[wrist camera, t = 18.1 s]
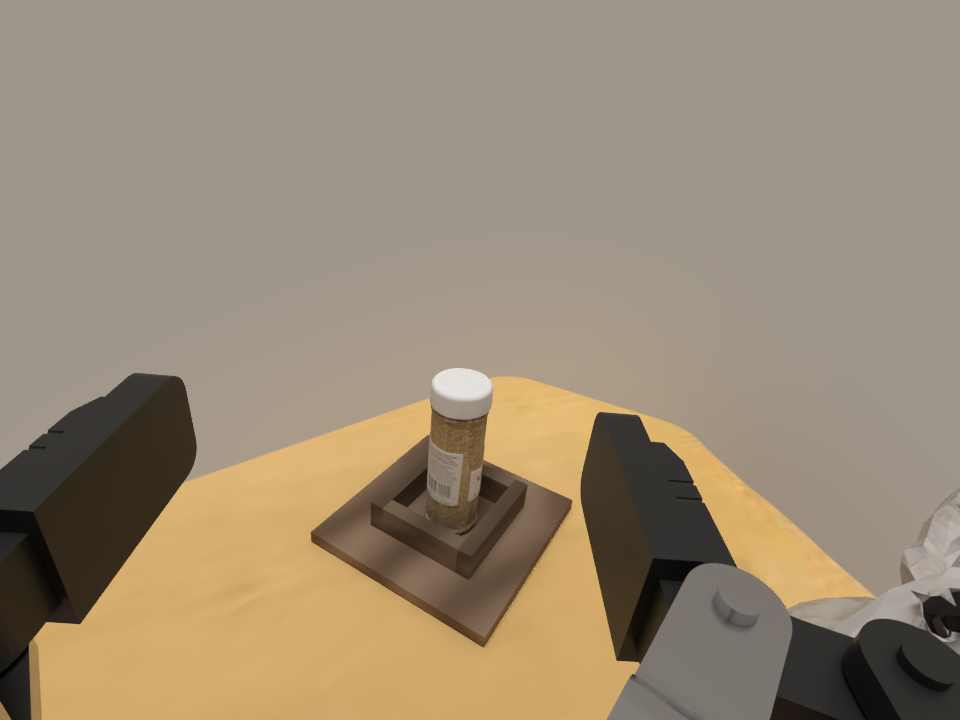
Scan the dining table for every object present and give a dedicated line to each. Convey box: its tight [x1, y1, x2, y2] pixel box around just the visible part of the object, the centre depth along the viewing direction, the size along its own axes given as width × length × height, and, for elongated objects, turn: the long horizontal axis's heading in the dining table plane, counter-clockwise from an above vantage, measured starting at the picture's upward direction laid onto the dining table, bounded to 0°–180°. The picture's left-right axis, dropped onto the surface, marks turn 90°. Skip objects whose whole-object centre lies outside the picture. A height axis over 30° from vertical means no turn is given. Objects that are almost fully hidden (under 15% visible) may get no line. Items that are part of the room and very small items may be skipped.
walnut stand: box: [311, 435, 572, 647], centre depth 45 cm, size 16×16×4 cm
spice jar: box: [425, 368, 493, 534], centre depth 42 cm, size 5×5×13 cm
